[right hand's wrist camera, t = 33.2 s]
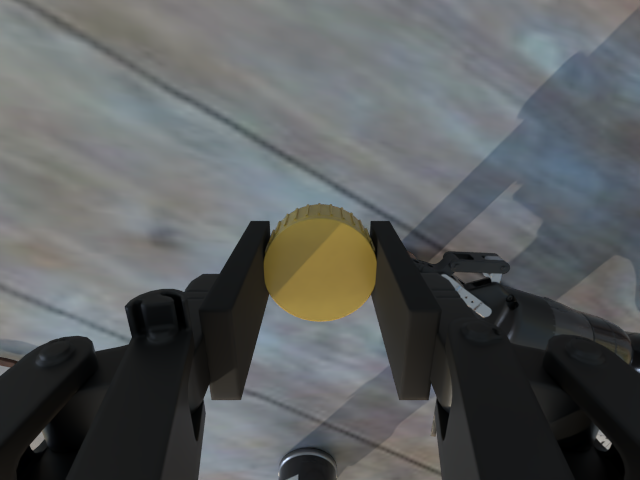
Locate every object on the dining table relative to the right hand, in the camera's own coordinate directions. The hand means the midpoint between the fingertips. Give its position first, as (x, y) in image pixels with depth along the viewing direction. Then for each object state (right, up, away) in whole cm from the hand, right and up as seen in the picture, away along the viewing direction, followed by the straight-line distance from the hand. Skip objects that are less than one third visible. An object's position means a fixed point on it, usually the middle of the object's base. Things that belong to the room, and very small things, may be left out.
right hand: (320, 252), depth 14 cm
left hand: (+8, -5, +23) cm, 24 cm away
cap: (0, -1, -1) cm, 2 cm away
